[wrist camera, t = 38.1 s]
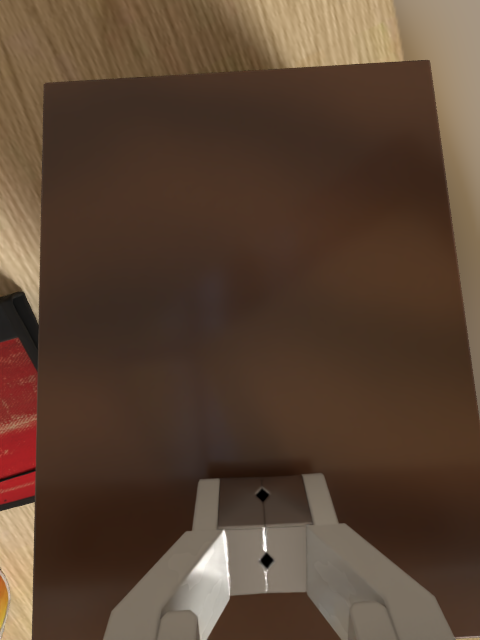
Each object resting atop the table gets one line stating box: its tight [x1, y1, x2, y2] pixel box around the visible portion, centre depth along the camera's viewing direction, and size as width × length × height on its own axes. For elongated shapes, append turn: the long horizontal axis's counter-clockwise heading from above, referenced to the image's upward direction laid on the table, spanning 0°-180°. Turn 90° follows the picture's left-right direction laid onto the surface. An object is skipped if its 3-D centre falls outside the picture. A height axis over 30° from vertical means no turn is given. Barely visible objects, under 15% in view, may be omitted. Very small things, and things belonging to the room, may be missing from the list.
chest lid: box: [32, 60, 480, 640], centre depth 12 cm, size 16×12×1 cm
